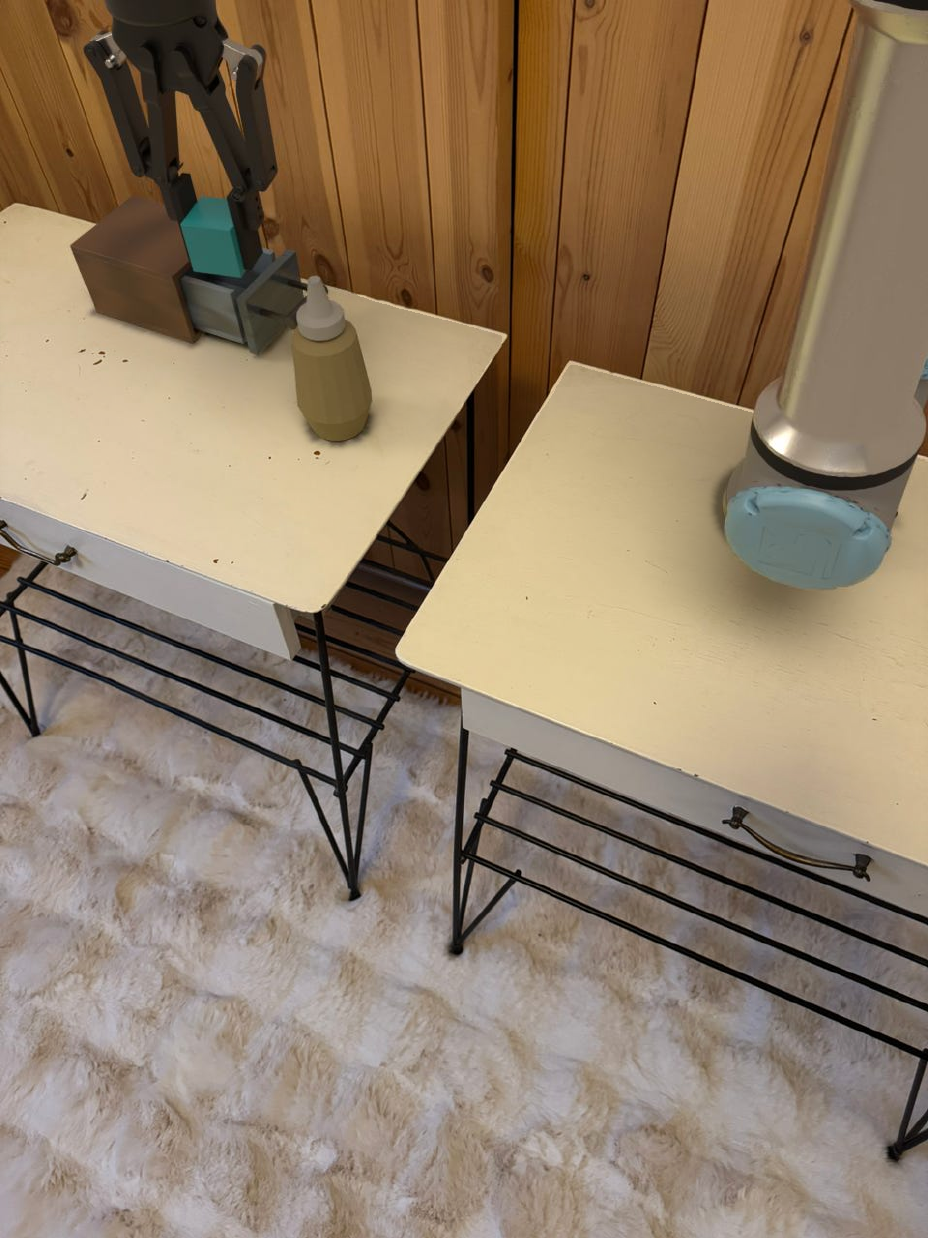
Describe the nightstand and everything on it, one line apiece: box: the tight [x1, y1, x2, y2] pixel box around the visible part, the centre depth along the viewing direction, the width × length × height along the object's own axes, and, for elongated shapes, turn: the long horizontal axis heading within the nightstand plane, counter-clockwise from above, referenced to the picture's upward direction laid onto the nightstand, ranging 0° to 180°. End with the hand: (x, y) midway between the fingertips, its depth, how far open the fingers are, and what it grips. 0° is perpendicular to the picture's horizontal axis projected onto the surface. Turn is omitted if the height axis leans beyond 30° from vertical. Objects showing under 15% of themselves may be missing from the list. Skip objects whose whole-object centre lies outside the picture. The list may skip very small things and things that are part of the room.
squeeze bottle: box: [291, 275, 373, 442], centre depth 93 cm, size 8×8×18 cm
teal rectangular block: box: [180, 195, 246, 278], centre depth 78 cm, size 4×4×4 cm
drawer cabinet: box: [69, 195, 206, 345], centre depth 110 cm, size 15×12×9 cm
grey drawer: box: [178, 247, 329, 356], centre depth 107 cm, size 18×10×7 cm, turn 64°
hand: (226, 256), depth 80 cm, fingers closed on teal rectangular block, 4 cm apart
